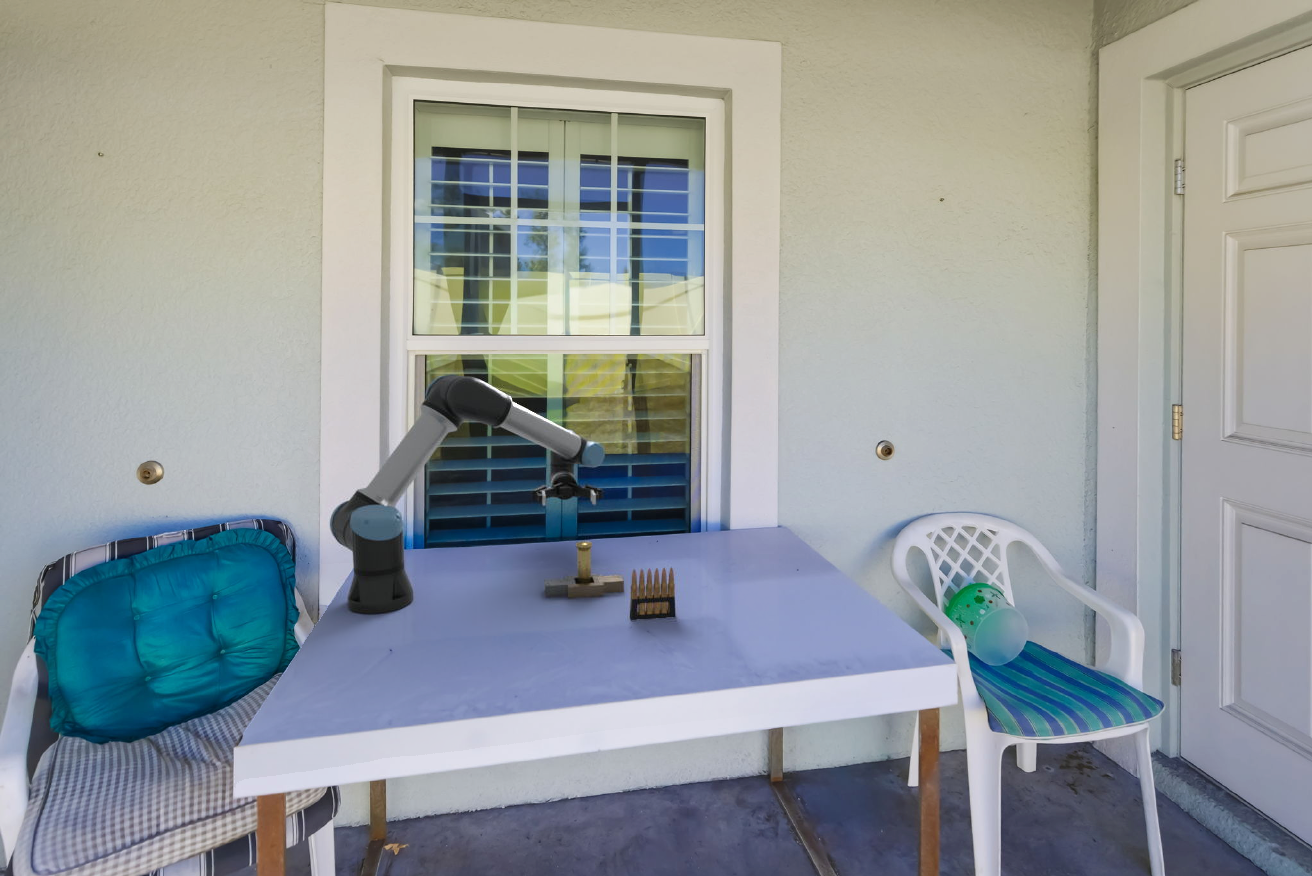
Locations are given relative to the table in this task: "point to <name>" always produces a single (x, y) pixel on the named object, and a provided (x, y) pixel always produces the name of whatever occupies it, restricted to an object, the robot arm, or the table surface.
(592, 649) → the table surface
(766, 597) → the table surface
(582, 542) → the link pin
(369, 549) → the robot arm
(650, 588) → the ammunition clip
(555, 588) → the chain joint
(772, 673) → the table surface
